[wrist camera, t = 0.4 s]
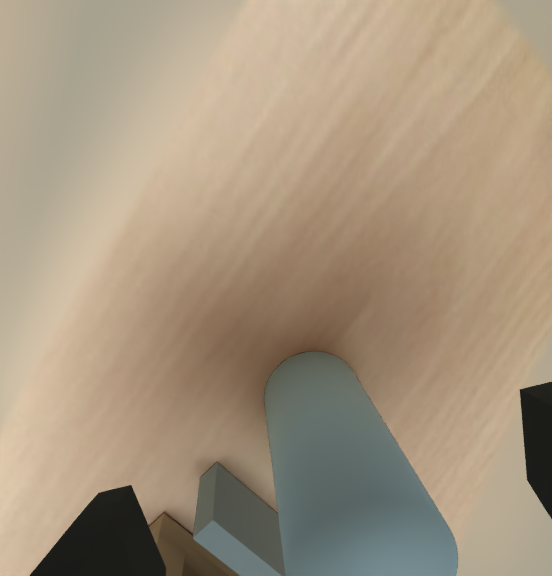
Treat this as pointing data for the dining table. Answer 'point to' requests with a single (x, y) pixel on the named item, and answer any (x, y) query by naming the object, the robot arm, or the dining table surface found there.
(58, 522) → the dining table surface
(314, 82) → the dining table surface
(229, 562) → the backstop wall
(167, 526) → the frame
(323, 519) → the dowel
